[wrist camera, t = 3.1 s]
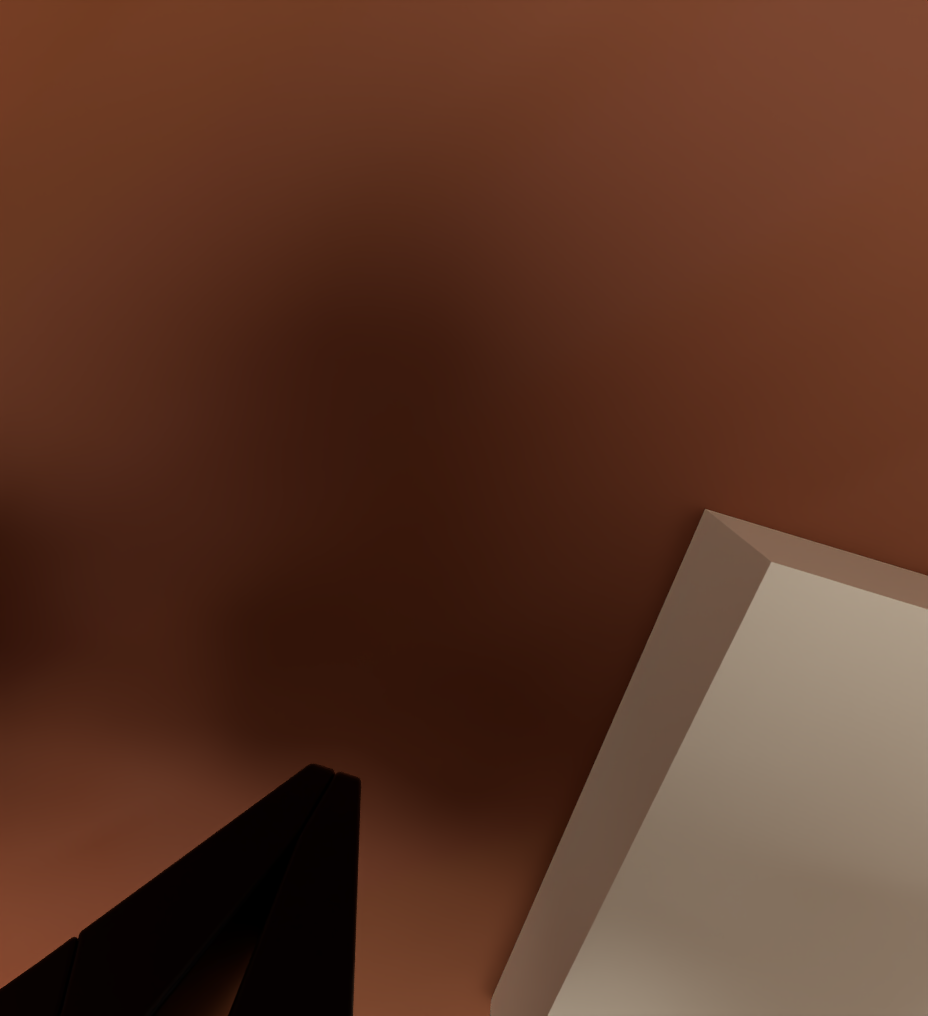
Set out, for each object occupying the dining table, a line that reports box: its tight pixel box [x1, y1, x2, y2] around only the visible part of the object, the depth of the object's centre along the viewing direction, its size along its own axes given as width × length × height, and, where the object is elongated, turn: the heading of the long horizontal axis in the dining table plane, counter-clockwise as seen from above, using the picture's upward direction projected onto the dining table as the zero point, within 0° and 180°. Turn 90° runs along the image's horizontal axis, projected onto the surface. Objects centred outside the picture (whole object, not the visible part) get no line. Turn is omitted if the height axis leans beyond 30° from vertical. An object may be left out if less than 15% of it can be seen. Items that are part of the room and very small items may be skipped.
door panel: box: [490, 509, 928, 1016], centre depth 7 cm, size 7×11×4 cm, turn 164°
